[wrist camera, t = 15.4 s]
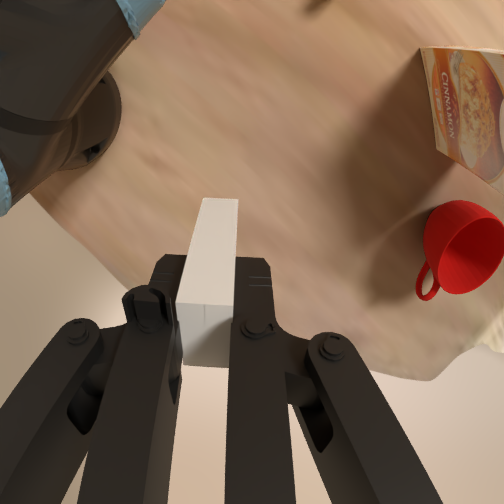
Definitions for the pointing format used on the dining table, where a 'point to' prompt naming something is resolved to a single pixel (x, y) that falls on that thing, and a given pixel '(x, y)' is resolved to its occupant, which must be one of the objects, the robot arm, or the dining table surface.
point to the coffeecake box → (468, 107)
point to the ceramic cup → (460, 248)
